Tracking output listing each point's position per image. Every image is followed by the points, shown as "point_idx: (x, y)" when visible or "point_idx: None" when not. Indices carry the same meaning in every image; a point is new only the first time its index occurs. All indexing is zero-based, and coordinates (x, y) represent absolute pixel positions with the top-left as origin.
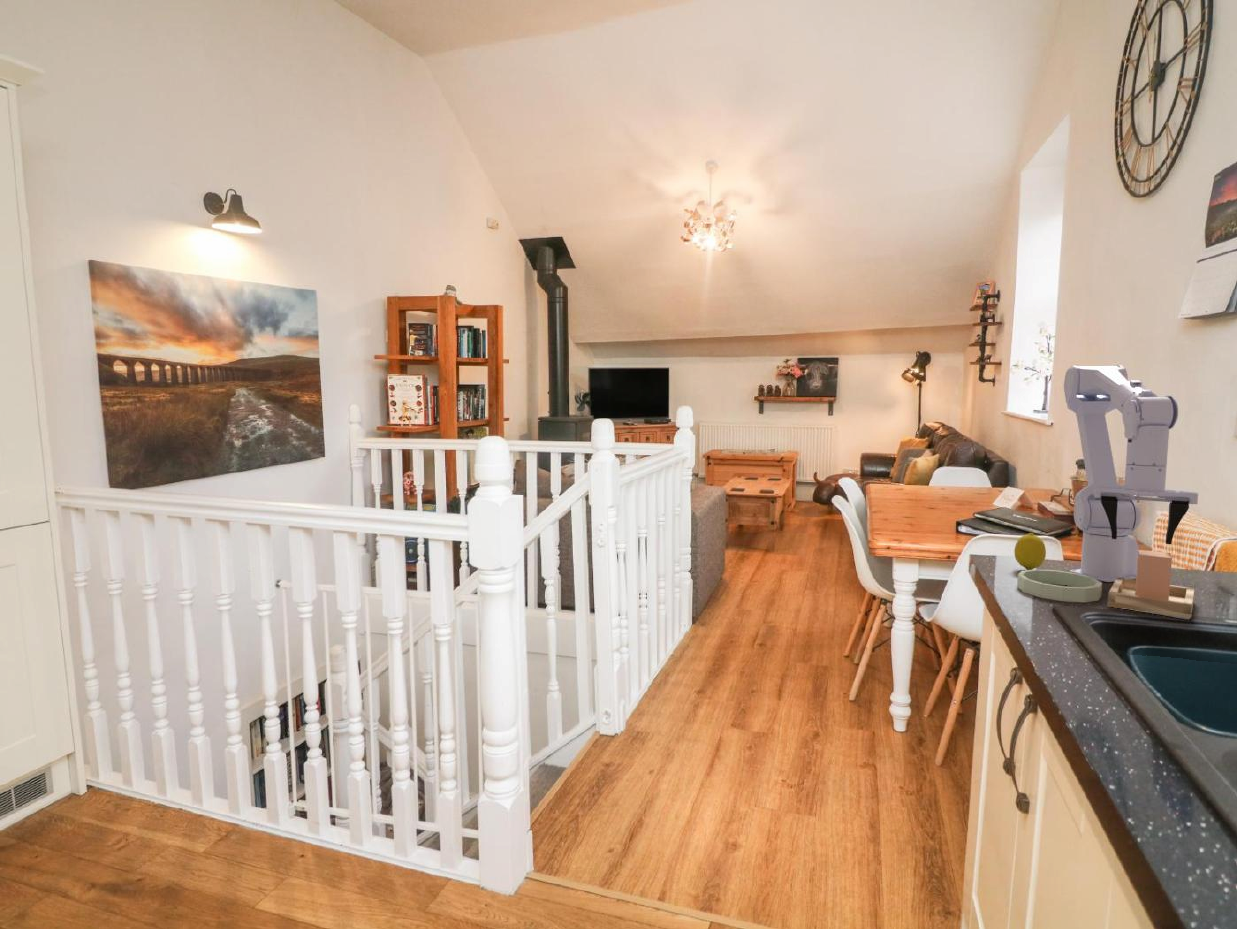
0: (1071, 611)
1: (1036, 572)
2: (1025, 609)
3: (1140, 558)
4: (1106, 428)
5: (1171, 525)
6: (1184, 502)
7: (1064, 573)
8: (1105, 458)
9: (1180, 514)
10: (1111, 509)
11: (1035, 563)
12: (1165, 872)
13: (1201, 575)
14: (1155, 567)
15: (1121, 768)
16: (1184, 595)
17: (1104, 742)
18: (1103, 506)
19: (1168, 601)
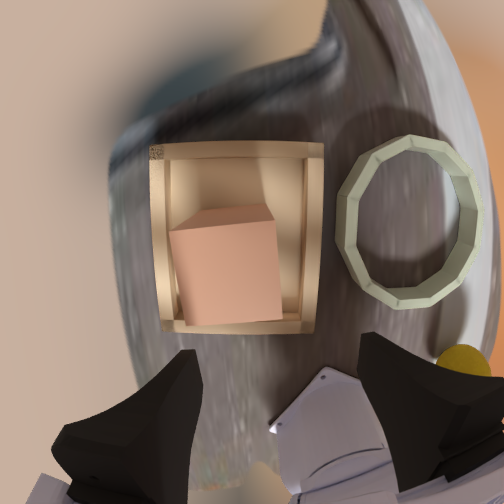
0: (366, 69)
1: (456, 273)
2: (423, 46)
3: (269, 218)
4: None
5: (159, 389)
6: (84, 494)
7: (413, 298)
8: None
9: (101, 420)
10: (455, 383)
11: (448, 350)
12: None
13: (195, 475)
14: (222, 219)
15: None
16: (180, 312)
17: None
18: (492, 378)
19: (194, 147)
